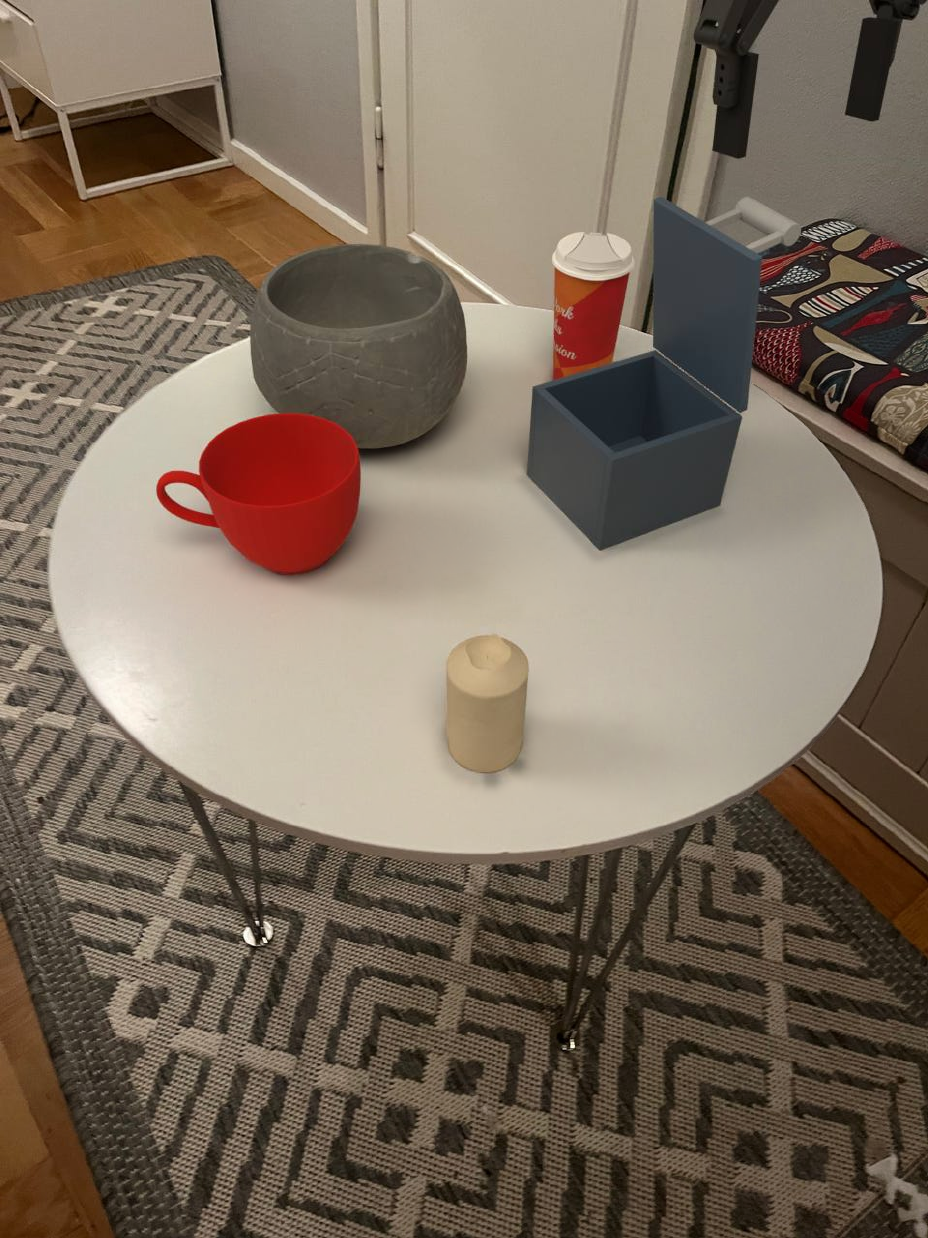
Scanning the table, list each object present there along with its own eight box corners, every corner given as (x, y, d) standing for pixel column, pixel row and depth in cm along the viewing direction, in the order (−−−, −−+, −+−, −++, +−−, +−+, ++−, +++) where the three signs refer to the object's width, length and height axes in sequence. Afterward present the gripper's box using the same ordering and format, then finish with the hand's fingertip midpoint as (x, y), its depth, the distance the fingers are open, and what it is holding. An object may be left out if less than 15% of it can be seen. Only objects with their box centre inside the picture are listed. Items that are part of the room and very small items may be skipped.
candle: (435, 759, 69) (433, 667, 62) (463, 704, 72) (464, 611, 65) (507, 783, 67) (513, 692, 60) (532, 726, 71) (541, 633, 64)
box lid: (754, 260, 71) (834, 222, 73) (653, 199, 79) (727, 166, 80) (740, 413, 82) (810, 378, 83) (652, 346, 90) (718, 315, 91)
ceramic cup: (183, 509, 88) (159, 417, 81) (366, 500, 89) (358, 408, 82) (165, 608, 79) (136, 514, 72) (369, 596, 80) (360, 502, 73)
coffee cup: (545, 358, 108) (555, 226, 97) (619, 363, 107) (637, 231, 96) (539, 398, 102) (549, 262, 91) (617, 405, 101) (636, 268, 90)
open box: (599, 550, 85) (612, 460, 78) (526, 474, 92) (532, 386, 85) (720, 505, 89) (742, 416, 82) (640, 436, 97) (655, 349, 90)
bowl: (220, 435, 97) (191, 296, 86) (349, 348, 109) (338, 216, 98) (387, 510, 88) (378, 366, 78) (506, 406, 101) (512, 269, 90)
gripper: (945, -254, 65) (874, 94, 79) (655, -229, 56) (634, 158, 70) (1046, -261, 60) (951, 112, 74) (746, -235, 51) (704, 183, 65)
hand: (797, 135), depth 72 cm, fingers open, 13 cm apart
